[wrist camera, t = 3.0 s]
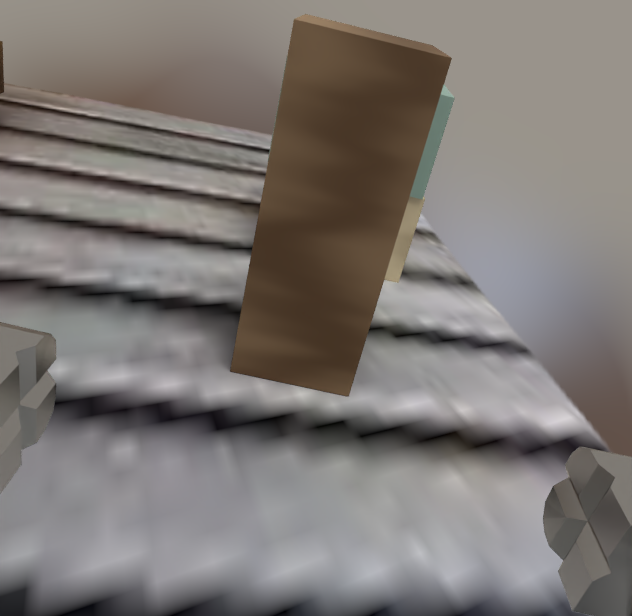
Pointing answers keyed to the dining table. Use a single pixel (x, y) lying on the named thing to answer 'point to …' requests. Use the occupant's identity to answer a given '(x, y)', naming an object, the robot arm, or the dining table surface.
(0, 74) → the wooden toy train
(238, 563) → the dining table surface
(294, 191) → the walnut post
